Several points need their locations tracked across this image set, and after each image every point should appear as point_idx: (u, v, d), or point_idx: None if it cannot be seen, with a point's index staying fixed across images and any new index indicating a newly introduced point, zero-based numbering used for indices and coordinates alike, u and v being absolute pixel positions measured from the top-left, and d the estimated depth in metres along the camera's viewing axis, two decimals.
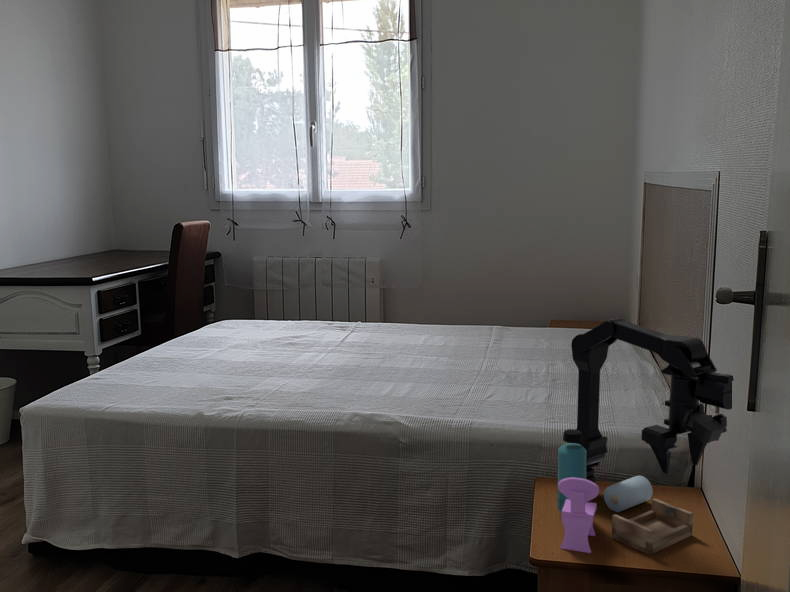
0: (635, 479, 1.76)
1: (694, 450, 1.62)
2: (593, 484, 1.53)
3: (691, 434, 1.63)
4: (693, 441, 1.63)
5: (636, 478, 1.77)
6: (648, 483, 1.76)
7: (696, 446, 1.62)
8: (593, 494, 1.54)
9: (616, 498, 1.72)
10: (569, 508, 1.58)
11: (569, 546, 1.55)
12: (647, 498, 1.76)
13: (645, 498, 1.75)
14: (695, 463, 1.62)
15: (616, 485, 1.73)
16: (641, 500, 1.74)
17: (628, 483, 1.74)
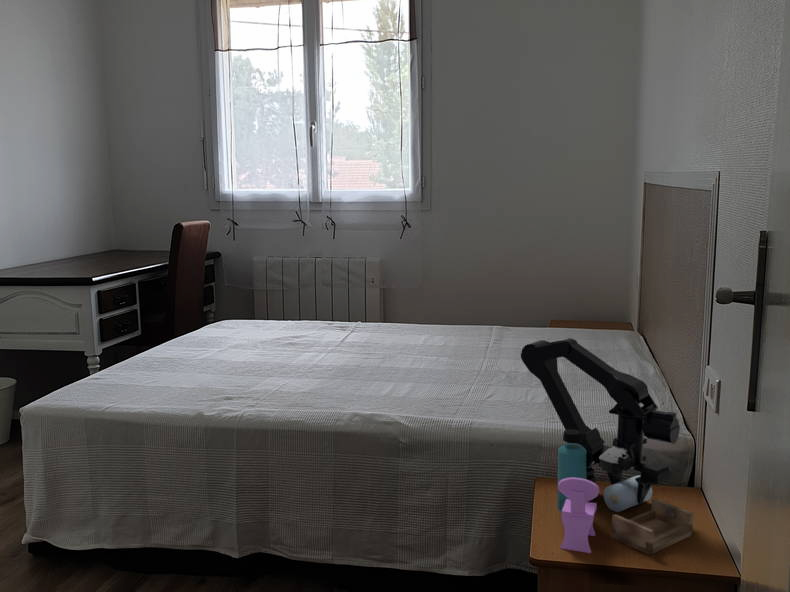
0: None
1: None
2: (593, 484, 1.53)
3: None
4: None
5: None
6: None
7: None
8: (593, 494, 1.54)
9: (615, 498, 1.72)
10: (569, 508, 1.57)
11: (569, 546, 1.55)
12: (647, 498, 1.76)
13: (645, 498, 1.75)
14: None
15: (615, 485, 1.73)
16: None
17: (627, 483, 1.74)
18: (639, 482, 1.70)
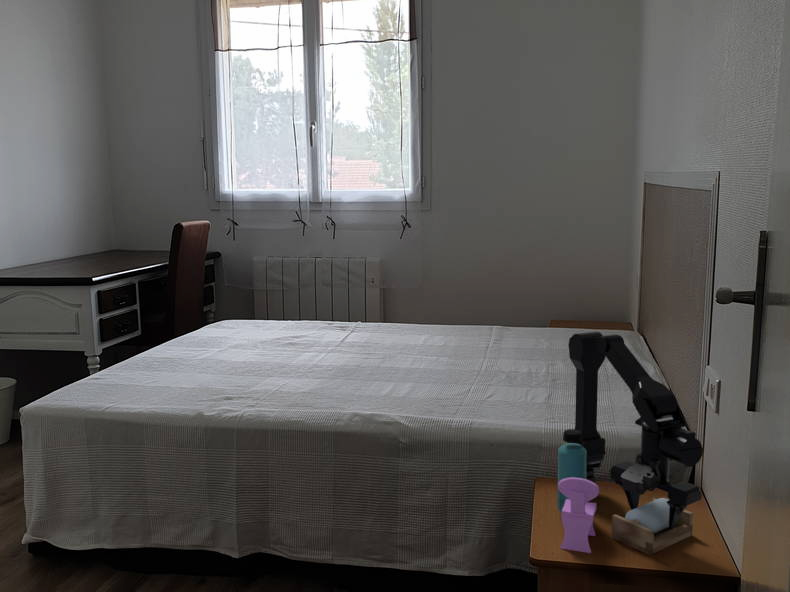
0: (658, 502, 1.61)
1: None
2: (593, 484, 1.53)
3: None
4: None
5: (659, 501, 1.61)
6: None
7: None
8: (593, 494, 1.54)
9: None
10: (569, 508, 1.58)
11: (569, 546, 1.55)
12: None
13: None
14: None
15: (637, 509, 1.57)
16: (666, 524, 1.58)
17: (650, 506, 1.59)
18: (671, 505, 1.53)
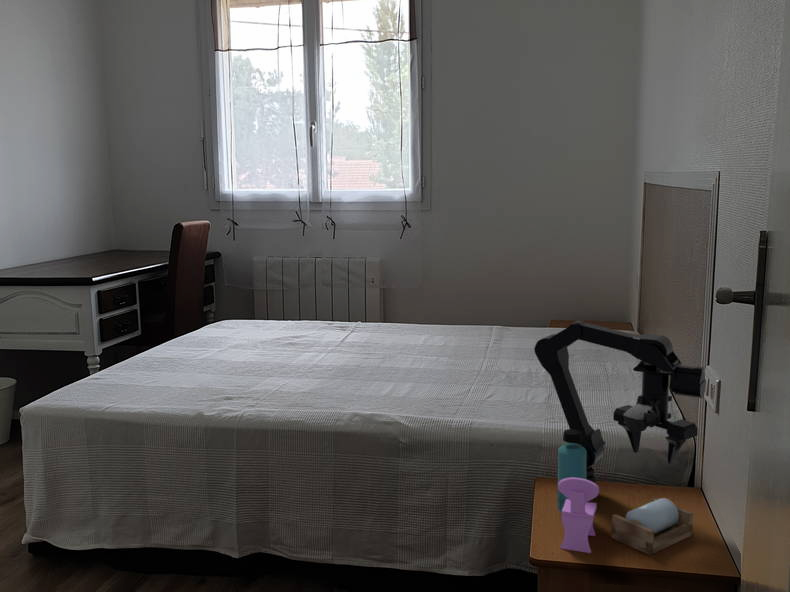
0: (659, 502, 1.60)
1: None
2: (593, 484, 1.53)
3: None
4: None
5: (660, 501, 1.61)
6: (673, 506, 1.60)
7: None
8: (593, 494, 1.54)
9: None
10: (569, 508, 1.58)
11: (569, 546, 1.55)
12: (673, 523, 1.60)
13: (671, 523, 1.59)
14: None
15: (638, 509, 1.57)
16: (667, 525, 1.58)
17: (651, 507, 1.58)
18: (670, 441, 1.66)
